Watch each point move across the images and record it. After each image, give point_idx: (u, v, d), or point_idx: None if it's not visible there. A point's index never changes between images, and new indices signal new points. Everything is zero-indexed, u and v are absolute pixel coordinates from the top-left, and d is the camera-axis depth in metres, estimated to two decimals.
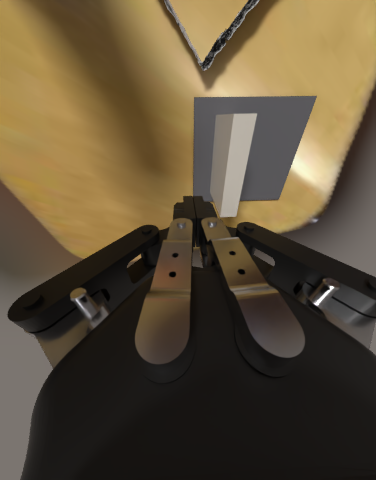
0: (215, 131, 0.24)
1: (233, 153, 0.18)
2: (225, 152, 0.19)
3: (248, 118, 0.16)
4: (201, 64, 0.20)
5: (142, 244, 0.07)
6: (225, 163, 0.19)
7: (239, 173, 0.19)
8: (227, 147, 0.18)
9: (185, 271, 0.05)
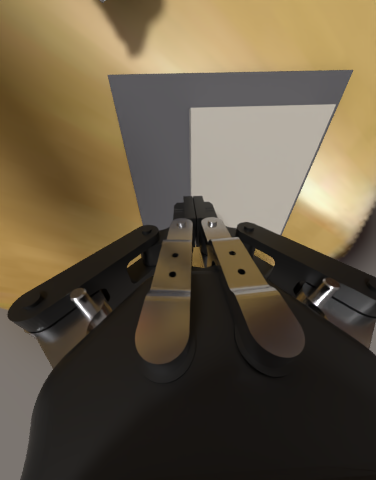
0: (201, 142, 0.12)
1: None
2: (293, 163, 0.13)
3: None
4: None
5: (142, 244, 0.07)
6: (295, 177, 0.14)
7: None
8: (303, 155, 0.13)
9: (185, 271, 0.05)
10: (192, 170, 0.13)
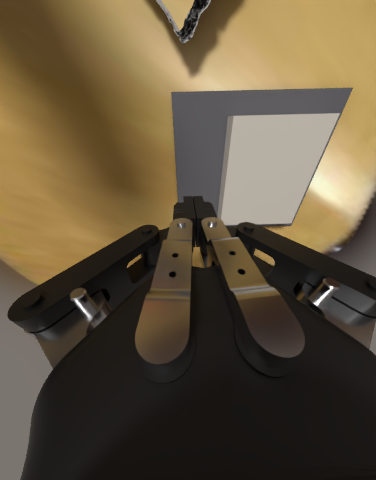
0: (238, 141, 0.16)
1: None
2: (306, 157, 0.17)
3: None
4: (179, 33, 0.12)
5: (142, 244, 0.07)
6: (307, 168, 0.17)
7: None
8: (315, 151, 0.16)
9: (185, 271, 0.05)
10: (228, 162, 0.17)
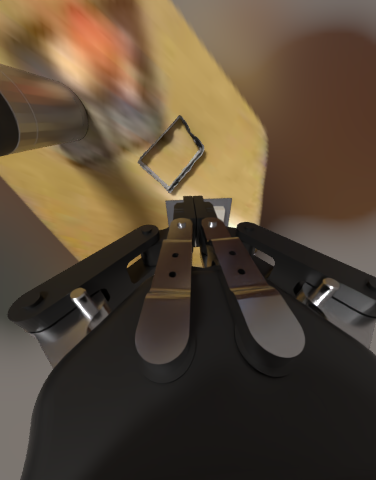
0: None
1: None
2: None
3: None
4: (167, 190, 0.39)
5: (142, 244, 0.07)
6: None
7: None
8: None
9: (185, 271, 0.05)
10: None
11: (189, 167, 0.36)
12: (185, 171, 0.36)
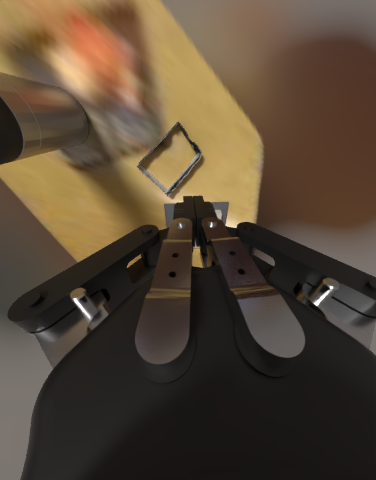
0: None
1: None
2: None
3: None
4: (166, 193, 0.40)
5: (142, 244, 0.07)
6: None
7: None
8: None
9: (185, 271, 0.05)
10: None
11: (187, 171, 0.37)
12: (183, 175, 0.37)
